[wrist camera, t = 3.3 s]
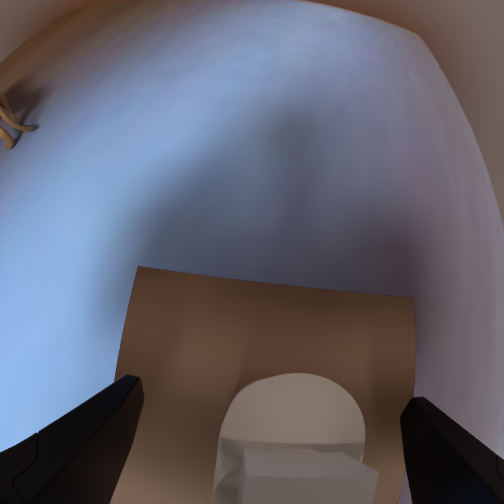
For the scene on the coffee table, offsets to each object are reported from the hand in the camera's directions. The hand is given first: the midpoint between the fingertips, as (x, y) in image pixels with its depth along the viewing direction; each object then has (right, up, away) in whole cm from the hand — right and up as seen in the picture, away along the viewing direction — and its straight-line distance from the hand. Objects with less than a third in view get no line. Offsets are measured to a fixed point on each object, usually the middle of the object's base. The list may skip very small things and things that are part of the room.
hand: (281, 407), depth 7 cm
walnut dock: (0, -4, +6) cm, 7 cm away
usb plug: (0, -2, +2) cm, 3 cm away
